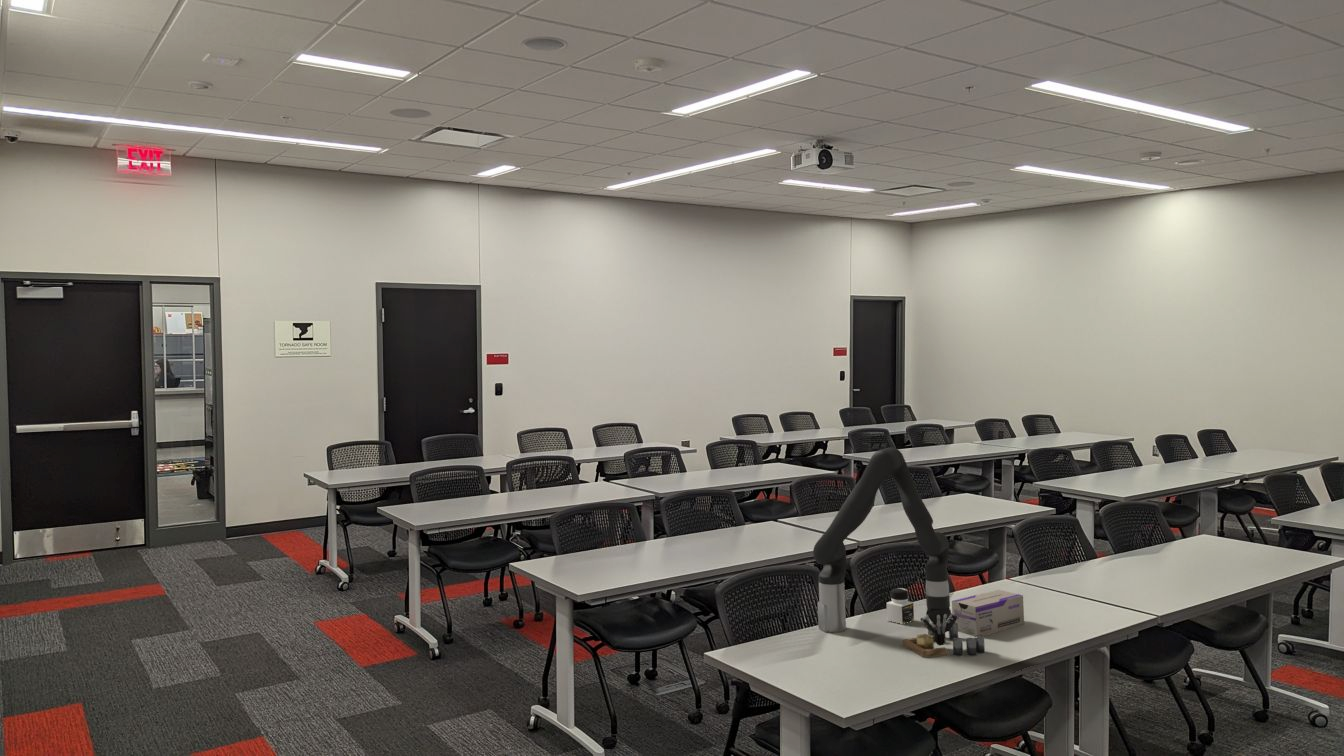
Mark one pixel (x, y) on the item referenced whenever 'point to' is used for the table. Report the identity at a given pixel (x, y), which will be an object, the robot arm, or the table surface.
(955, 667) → the table surface
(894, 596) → the medicine bottle
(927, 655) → the walnut bay
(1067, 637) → the table surface
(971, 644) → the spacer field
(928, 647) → the brass nut
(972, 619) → the surgical sutures box
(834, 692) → the table surface
